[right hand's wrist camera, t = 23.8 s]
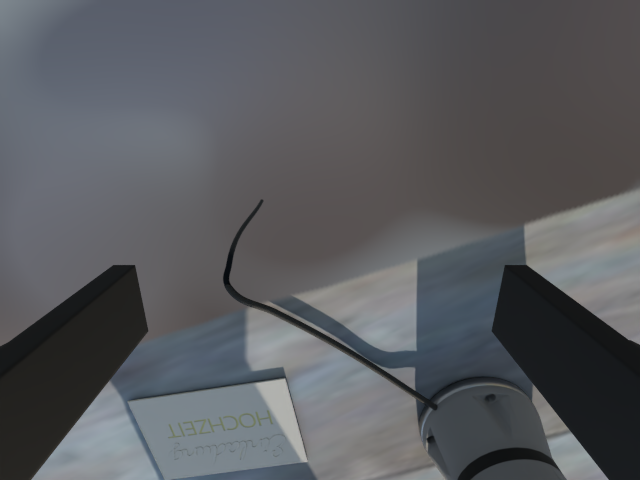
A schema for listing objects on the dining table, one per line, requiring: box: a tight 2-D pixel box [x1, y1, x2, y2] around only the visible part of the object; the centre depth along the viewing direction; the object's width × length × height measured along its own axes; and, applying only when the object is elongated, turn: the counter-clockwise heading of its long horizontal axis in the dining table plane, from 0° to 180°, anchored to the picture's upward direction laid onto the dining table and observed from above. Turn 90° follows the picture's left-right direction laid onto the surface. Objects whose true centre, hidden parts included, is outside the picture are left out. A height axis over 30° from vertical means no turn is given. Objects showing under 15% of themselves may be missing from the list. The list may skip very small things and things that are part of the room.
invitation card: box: [128, 378, 308, 480], centre depth 47 cm, size 21×1×15 cm
